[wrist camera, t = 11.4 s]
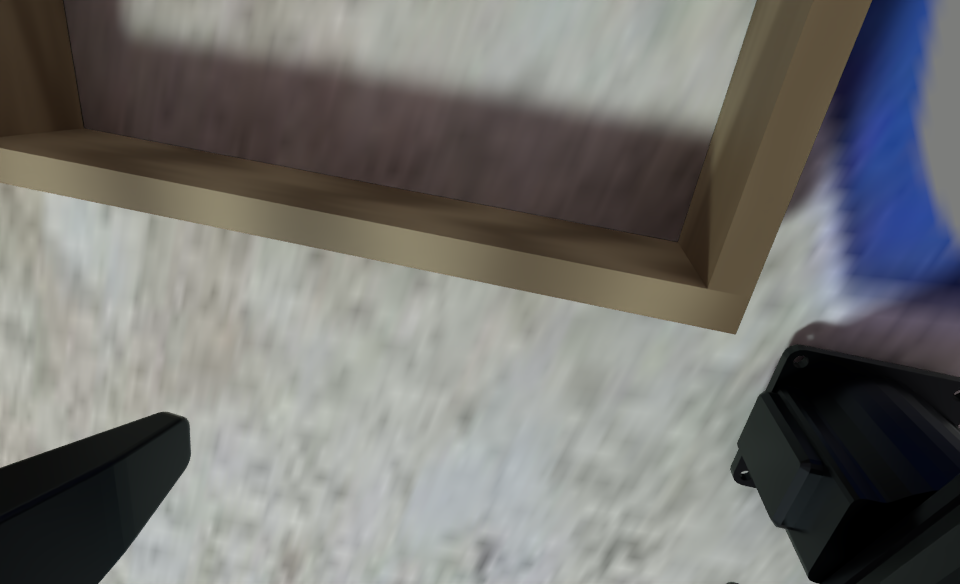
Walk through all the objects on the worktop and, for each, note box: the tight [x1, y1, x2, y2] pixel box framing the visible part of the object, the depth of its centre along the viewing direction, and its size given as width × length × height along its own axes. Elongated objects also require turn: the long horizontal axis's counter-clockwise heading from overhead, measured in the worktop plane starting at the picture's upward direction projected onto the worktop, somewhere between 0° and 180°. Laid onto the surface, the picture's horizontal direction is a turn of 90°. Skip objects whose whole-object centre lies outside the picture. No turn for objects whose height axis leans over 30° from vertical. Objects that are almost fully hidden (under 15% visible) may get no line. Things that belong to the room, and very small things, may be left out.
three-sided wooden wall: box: [0, 0, 872, 334], centre depth 15 cm, size 26×14×4 cm, turn 81°
